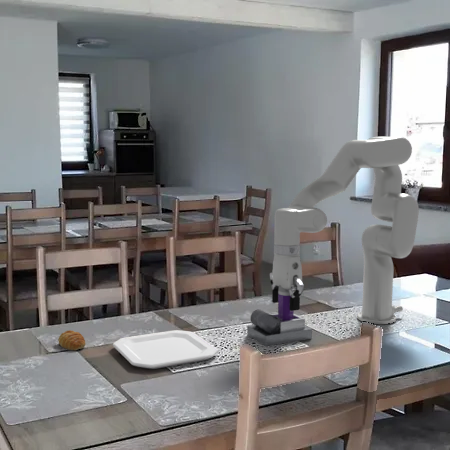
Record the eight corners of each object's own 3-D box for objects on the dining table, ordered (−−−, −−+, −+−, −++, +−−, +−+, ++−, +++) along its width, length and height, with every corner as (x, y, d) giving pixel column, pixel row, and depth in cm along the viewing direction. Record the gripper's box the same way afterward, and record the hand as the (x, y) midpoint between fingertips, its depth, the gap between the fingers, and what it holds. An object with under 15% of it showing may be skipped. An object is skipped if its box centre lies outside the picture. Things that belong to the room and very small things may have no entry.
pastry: (91, 348, 174) (91, 335, 174) (69, 353, 170) (68, 340, 170) (77, 340, 182) (77, 327, 181) (55, 344, 177) (55, 332, 177)
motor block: (291, 328, 193) (292, 303, 192) (311, 338, 184) (312, 312, 183) (247, 335, 186) (247, 309, 185) (265, 346, 177) (266, 319, 176)
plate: (137, 376, 154) (137, 367, 154) (108, 346, 176) (108, 339, 176) (224, 360, 166) (224, 352, 165) (187, 335, 187) (187, 328, 187)
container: (292, 329, 183) (293, 279, 181) (276, 328, 184) (277, 279, 182) (294, 324, 187) (295, 276, 185) (278, 323, 188) (279, 275, 186)
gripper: (314, 253, 176) (312, 311, 179) (282, 244, 192) (281, 298, 194) (291, 255, 173) (290, 315, 175) (261, 246, 188) (260, 300, 191)
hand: (285, 306), depth 185 cm, fingers open, 9 cm apart
